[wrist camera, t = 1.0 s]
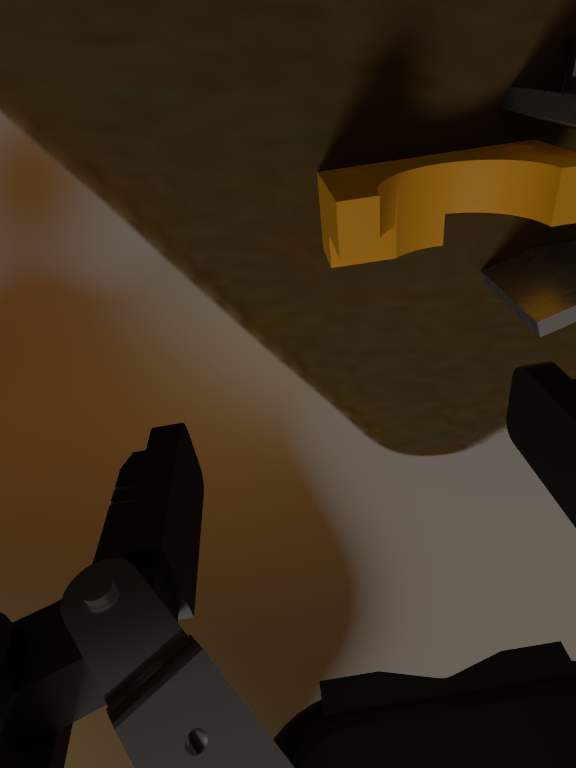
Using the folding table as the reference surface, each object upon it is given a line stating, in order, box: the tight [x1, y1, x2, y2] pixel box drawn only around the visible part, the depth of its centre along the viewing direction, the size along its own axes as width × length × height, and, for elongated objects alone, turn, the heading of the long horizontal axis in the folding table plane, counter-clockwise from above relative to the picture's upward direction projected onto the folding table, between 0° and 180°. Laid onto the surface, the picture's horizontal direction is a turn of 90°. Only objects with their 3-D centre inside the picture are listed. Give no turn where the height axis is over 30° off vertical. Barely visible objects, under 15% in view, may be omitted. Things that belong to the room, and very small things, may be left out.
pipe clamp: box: [317, 139, 576, 268], centre depth 25 cm, size 12×4×6 cm, turn 97°
